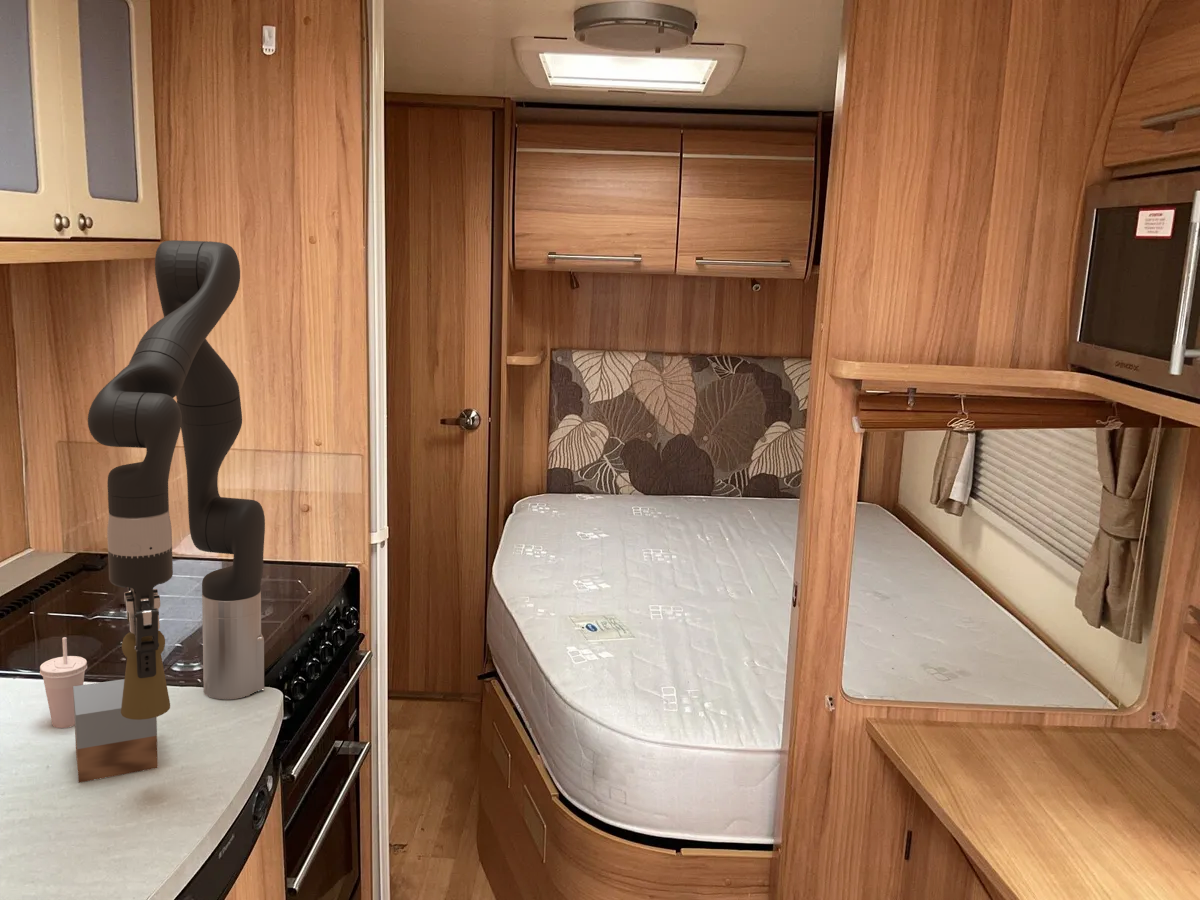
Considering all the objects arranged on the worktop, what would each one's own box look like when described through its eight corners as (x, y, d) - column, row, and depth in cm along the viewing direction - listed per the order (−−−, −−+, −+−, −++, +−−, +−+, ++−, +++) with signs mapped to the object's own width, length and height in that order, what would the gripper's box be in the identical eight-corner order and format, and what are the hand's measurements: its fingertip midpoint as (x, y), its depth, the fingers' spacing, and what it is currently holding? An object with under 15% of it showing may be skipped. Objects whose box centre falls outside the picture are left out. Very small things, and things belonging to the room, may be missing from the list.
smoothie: (57, 736, 146) (52, 648, 143) (33, 724, 149) (29, 637, 147) (98, 721, 151) (94, 636, 149) (74, 709, 155) (71, 626, 152)
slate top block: (149, 706, 146) (148, 675, 146) (156, 735, 138) (156, 702, 137) (74, 718, 141) (73, 686, 141) (77, 749, 133) (75, 715, 132)
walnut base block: (150, 737, 147) (149, 706, 146) (157, 768, 139) (156, 735, 138) (75, 750, 142) (74, 718, 141) (78, 782, 134) (77, 749, 133)
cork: (180, 705, 131) (178, 629, 129) (143, 723, 126) (140, 644, 124) (148, 695, 134) (146, 619, 132) (110, 712, 128) (107, 634, 126)
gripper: (178, 558, 121) (182, 684, 125) (165, 528, 133) (168, 644, 137) (111, 564, 117) (117, 695, 121) (104, 532, 130) (109, 652, 133)
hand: (144, 667), depth 129 cm, fingers closed on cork, 5 cm apart
